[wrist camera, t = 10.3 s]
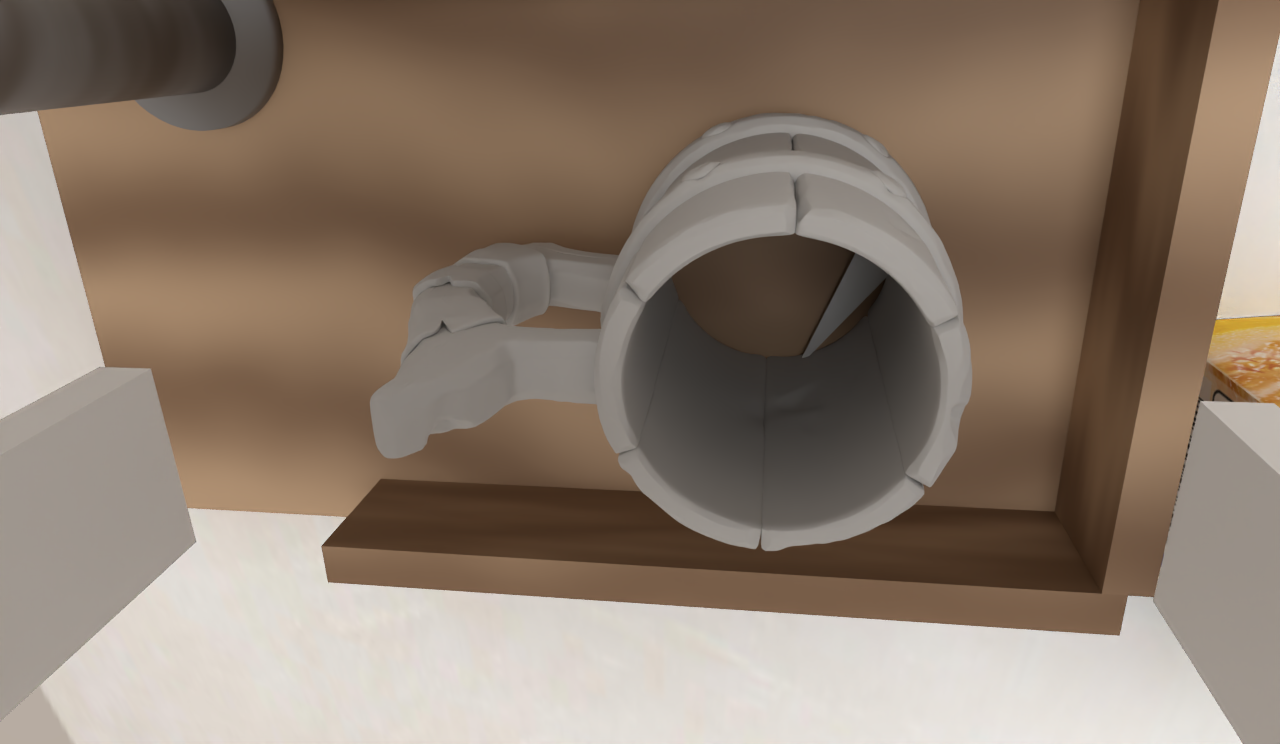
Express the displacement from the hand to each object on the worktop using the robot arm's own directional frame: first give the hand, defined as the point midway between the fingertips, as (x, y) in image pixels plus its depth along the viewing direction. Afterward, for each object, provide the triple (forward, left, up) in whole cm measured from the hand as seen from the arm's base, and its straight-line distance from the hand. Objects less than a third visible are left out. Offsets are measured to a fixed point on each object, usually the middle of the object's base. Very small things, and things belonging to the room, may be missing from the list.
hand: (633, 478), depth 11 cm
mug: (0, 0, -14) cm, 14 cm away
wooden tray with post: (0, -4, -15) cm, 15 cm away
